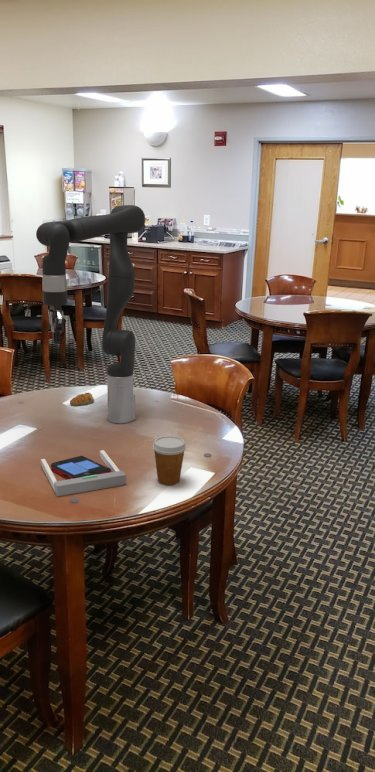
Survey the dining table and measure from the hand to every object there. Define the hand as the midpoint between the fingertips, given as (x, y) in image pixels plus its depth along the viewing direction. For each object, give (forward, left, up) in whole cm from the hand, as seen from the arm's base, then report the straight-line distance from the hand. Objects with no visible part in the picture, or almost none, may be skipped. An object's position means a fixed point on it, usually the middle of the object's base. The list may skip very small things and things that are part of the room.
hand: (56, 343), depth 191 cm
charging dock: (+1, +31, -32) cm, 45 cm away
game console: (+1, +28, -33) cm, 43 cm away
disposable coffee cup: (-21, +44, -32) cm, 58 cm away
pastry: (-16, -30, -32) cm, 47 cm away
